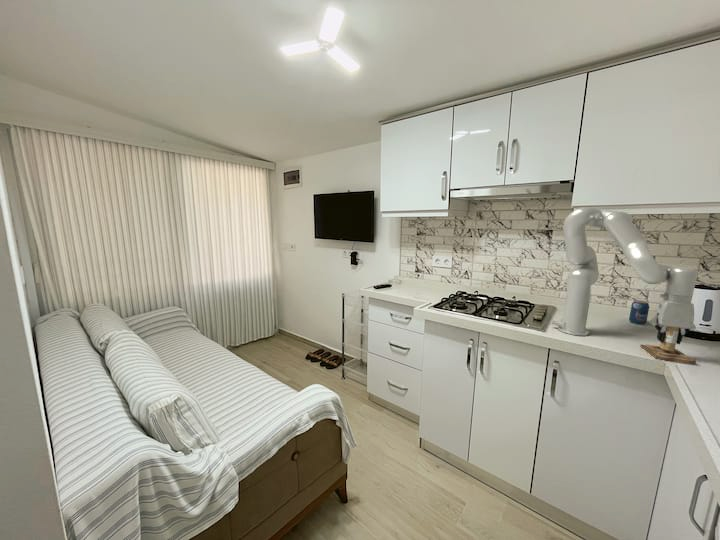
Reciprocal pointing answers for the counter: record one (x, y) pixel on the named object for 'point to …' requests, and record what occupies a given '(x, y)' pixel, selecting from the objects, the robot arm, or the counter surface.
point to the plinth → (667, 354)
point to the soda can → (639, 312)
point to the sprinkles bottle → (670, 339)
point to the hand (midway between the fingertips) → (668, 341)
